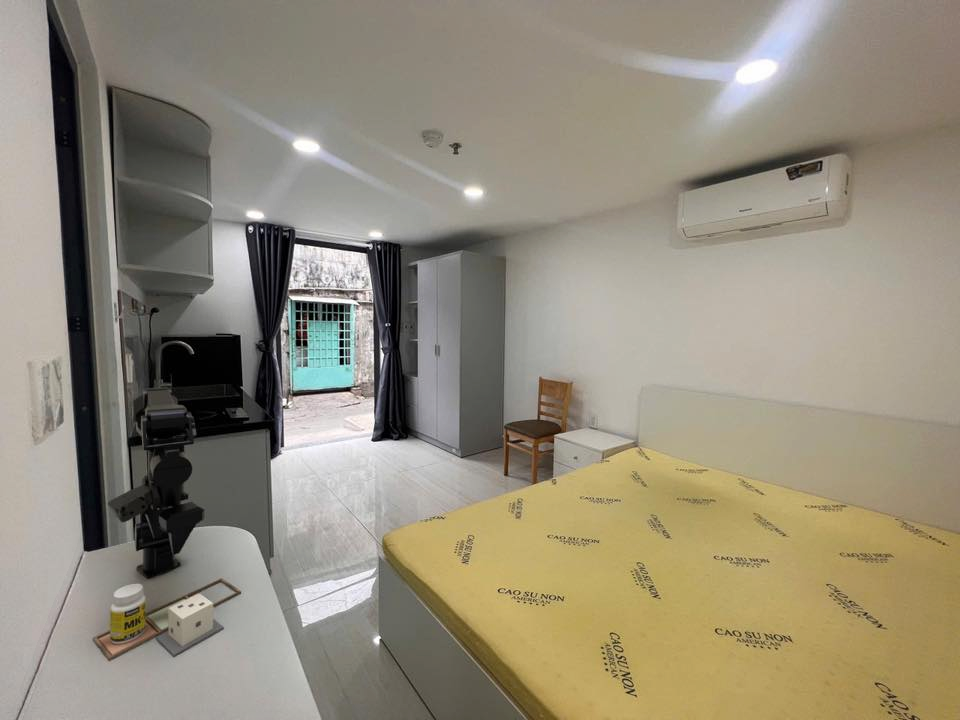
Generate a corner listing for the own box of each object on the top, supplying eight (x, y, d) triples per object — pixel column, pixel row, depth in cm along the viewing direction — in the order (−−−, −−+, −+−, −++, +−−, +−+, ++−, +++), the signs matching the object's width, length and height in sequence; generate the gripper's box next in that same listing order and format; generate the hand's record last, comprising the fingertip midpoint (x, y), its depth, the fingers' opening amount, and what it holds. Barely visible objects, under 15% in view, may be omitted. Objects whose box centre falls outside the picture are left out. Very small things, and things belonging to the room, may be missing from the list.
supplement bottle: (124, 647, 70) (124, 601, 69) (103, 642, 70) (102, 596, 70) (152, 628, 74) (152, 584, 74) (131, 623, 75) (131, 580, 75)
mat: (155, 639, 72) (155, 637, 72) (205, 613, 79) (205, 611, 79) (173, 657, 68) (173, 654, 68) (223, 628, 75) (223, 626, 75)
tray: (92, 640, 71) (92, 637, 71) (221, 580, 89) (221, 578, 89) (109, 660, 67) (109, 658, 67) (240, 593, 85) (241, 591, 85)
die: (168, 634, 73) (167, 607, 72) (198, 618, 77) (199, 592, 77) (182, 646, 70) (182, 619, 70) (213, 628, 75) (213, 602, 74)
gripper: (96, 469, 78) (97, 546, 79) (132, 496, 68) (133, 584, 69) (165, 456, 88) (165, 525, 89) (205, 478, 77) (205, 555, 79)
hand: (166, 545), depth 81 cm, fingers open, 9 cm apart
